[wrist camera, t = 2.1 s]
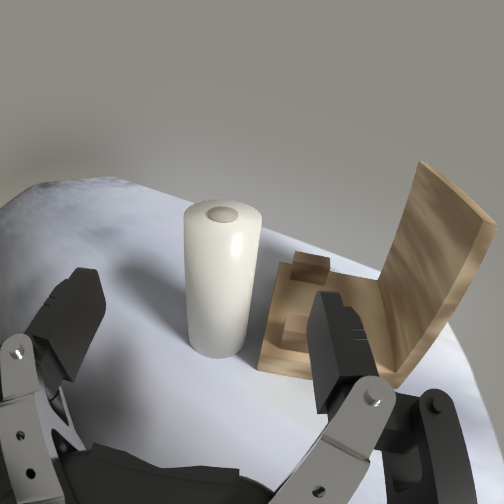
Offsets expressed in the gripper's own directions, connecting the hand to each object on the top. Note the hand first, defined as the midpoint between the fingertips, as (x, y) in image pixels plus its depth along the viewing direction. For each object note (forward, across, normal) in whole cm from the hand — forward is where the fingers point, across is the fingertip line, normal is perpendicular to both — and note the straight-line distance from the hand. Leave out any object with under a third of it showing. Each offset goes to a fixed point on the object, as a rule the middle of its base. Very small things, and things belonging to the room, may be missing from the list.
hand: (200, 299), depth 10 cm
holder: (+14, -12, +15) cm, 23 cm away
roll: (+12, 0, +15) cm, 19 cm away
